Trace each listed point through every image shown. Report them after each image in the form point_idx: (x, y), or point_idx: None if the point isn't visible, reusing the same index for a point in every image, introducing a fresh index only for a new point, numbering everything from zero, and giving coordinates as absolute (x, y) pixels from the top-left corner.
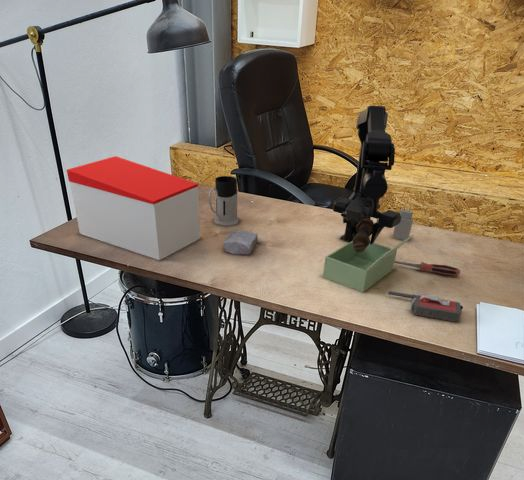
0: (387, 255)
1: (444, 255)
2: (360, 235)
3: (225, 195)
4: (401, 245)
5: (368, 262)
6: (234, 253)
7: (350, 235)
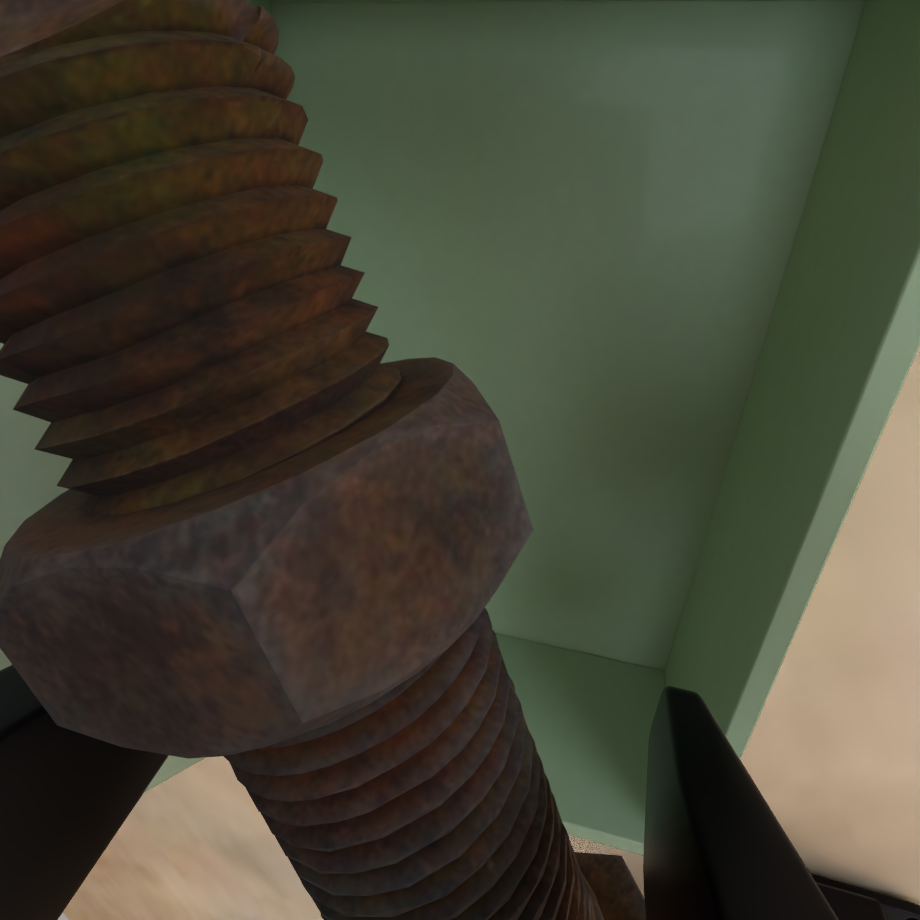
0: (30, 483)
1: (223, 842)
2: (121, 547)
3: None
4: None
5: (511, 609)
6: None
7: (713, 738)
